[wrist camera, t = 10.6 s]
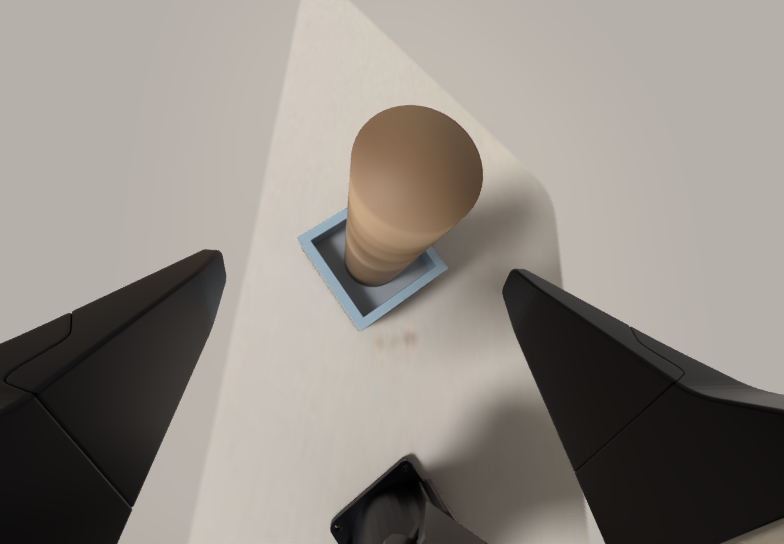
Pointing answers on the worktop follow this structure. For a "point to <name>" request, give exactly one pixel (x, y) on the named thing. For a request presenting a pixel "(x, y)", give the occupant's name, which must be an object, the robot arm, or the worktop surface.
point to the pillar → (406, 189)
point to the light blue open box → (354, 298)
